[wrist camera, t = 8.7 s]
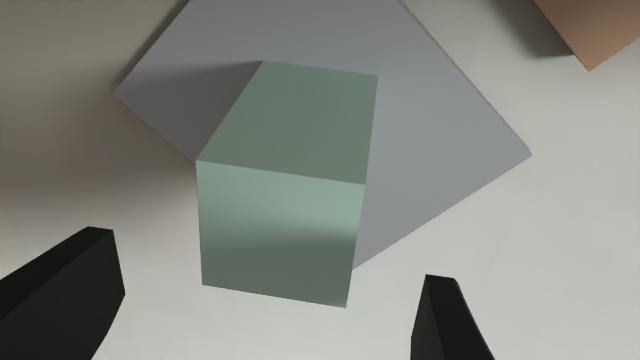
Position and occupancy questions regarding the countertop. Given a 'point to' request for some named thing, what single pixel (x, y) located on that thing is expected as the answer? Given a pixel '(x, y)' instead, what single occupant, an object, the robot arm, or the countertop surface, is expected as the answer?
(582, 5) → the pocket tray
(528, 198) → the countertop surface
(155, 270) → the countertop surface
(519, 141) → the rubber mat
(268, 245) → the green block
